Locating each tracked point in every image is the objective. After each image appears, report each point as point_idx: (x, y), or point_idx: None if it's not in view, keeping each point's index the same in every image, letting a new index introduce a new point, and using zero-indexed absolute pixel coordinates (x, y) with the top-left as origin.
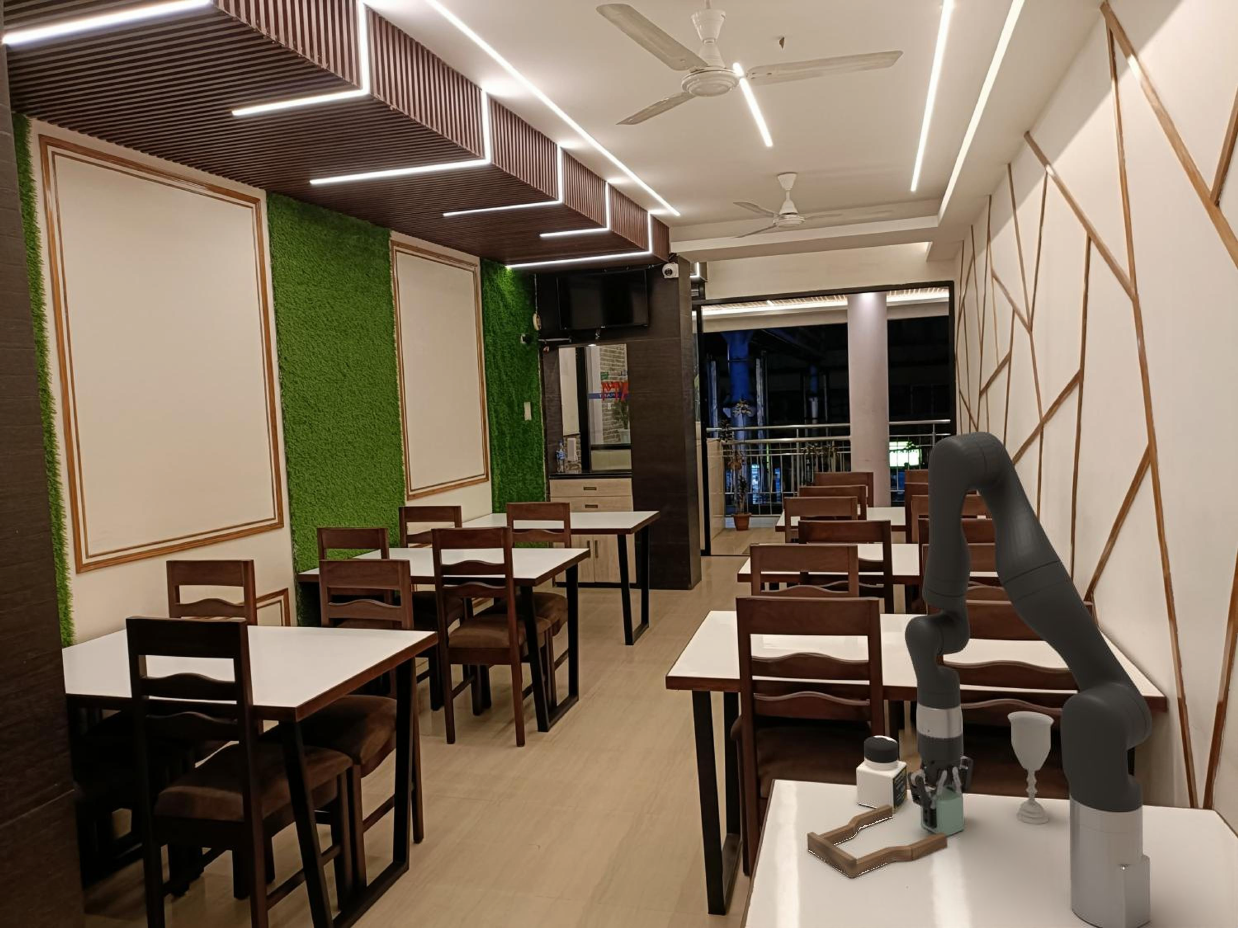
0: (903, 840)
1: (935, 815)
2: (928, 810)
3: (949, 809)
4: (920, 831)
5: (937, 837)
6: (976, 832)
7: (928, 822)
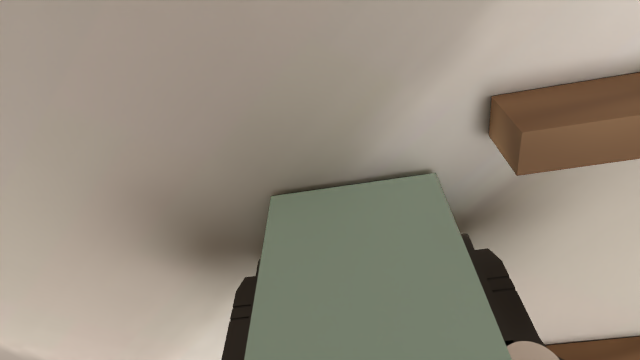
0: (618, 224)
1: None
2: (537, 338)
3: (409, 305)
4: None
5: (607, 129)
6: (219, 152)
7: (504, 269)
